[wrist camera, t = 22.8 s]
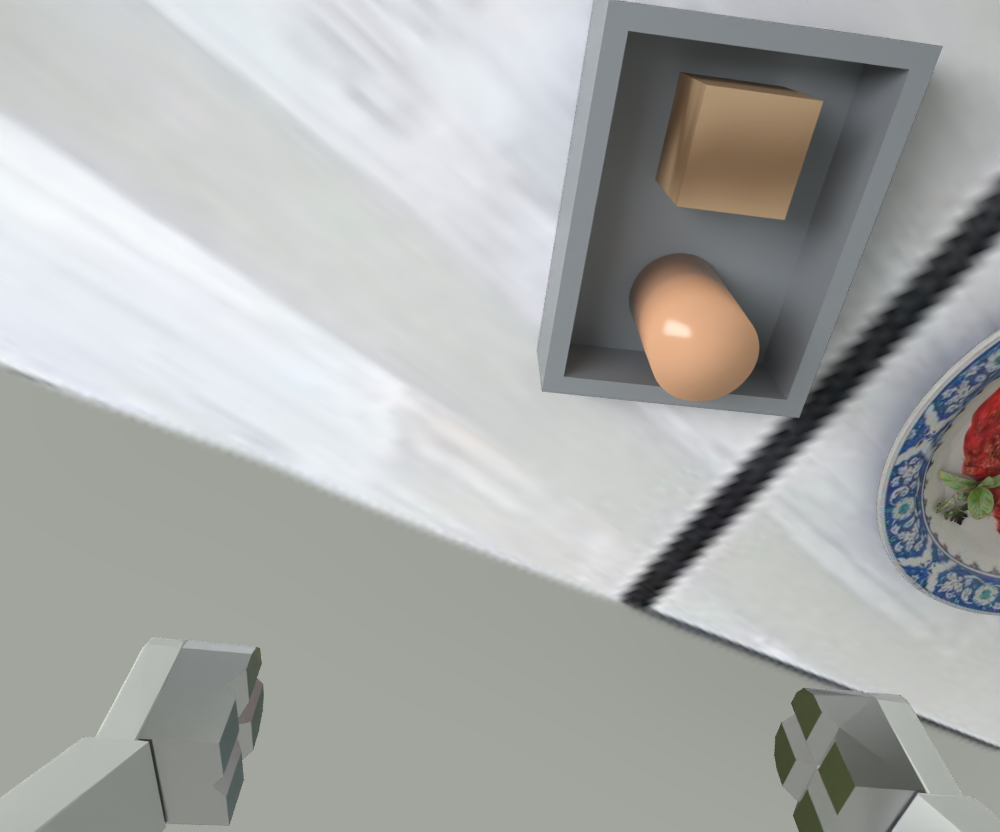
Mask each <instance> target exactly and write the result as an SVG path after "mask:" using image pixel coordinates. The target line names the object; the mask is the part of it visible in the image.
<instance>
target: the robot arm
mask: <svg viewBox="0 0 1000 832" xmlns="http://www.w3.org/2000/svg"><path fill="white" fill-rule="evenodd" d="M261 664H262V661H261V652H260V648H258V647H251V646H241V645H231V644H222V643H211V642H203V641H192V640H180V639H169V638H158V637H152V638H151V639H150V640H149V641H148V643H146V645H144V646H143V649H142V650H141V652H140V654H139V656H138V658H137V659H136V661H135V663H134V665H133V667H132V669H131V671H130V673H129V675H128V676H127V678H126V680H125V682H124V684H123V686H122V688H121V690H120V691H119V694H118V695H117V697H116V699H115V701H114V703H113V705H112V706H111V708H110V710H109V712H108V714H107V716H106V718H105V720H104V722H103V723H102V725H101V727H100V729H99V731H98V733H97V735H96V737H83V738H82V739H80V740H79V741H78V742H76V743H75V744H73V745H72V746H71V747H69V748H68V749H67V750H65V751H64V752H62V753H61V754H60V755H58V756H57V757H56V758H54V759H53V760H51V761H50V762H49V763H47V764H46V765H45V766H43V767H42V768H40V769H39V770H38V771H36V772H35V773H34V774H32V775H31V776H29V777H28V778H27V779H25V780H24V781H23V782H21V783H20V784H18V785H17V786H16V787H14V788H13V789H12V790H10V791H9V792H7V793H6V794H5V795H3V796H2V797H1V798H0V832H162V831H163V830H164V829H165V828H166V825H165V824H192V825H223V826H229V825H230V821H231V819H232V815H233V812H234V809H235V806H236V803H237V800H238V797H239V793H240V790H241V787H242V784H243V781H244V775H243V764H242V760H243V759H244V758H245V757H246V756H247V755H248V754H250V753H251V752H252V751H253V749H254V746H255V742H256V739H257V736H258V732H259V727H260V722H261V717H262V712H263V700H264V690H263V684H262V683H261V682H260V681H259V680H258V679H257V676H258V673H259V670H260V667H261ZM791 705H792V707H793V710H794V712H795V714H794V715H793V716H791V717H789V718H787V719H786V720H784V721H783V722H781V724H780V727H779V729H778V731H777V734H776V736H775V750H774V751H775V752H774V756H775V762H776V768H777V772H778V775H779V777H780V780H781V783H782V786H783V787H784V788H785V789H786V790H787V791H788V792H789V793H790V794H791V795H792V796H793V797H794V798H795V799H796V800H797V801H798V802H797V805H796V808H795V811H794V814H793V817H794V820H795V822H796V825H797V828H798V831H799V832H1000V819H999V818H998V817H997V816H996V815H995V814H993V813H992V812H991V811H990V810H989V809H987V808H986V807H985V806H983V805H982V804H981V803H980V802H979V801H977V800H976V799H975V798H974V797H970V796H963V795H962V793H961V791H960V789H959V788H958V786H957V784H956V782H955V781H954V779H953V778H952V776H951V774H950V772H949V770H948V769H947V767H946V766H945V764H944V762H943V760H942V758H941V757H940V755H939V754H938V752H937V750H936V748H935V746H934V745H933V743H932V742H931V740H930V738H929V736H928V735H927V733H926V731H925V729H924V728H923V726H922V724H921V722H920V721H919V719H918V717H917V716H916V714H915V712H914V711H913V709H912V707H911V705H910V704H909V702H908V701H907V700H906V699H904V698H903V697H902V696H901V695H894V694H881V693H865V692H863V691H847V690H831V689H815V688H803V689H801V690H800V691H798V692H797V693H796V694H795V697H794V698H793V700H792V702H791Z"/></svg>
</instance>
